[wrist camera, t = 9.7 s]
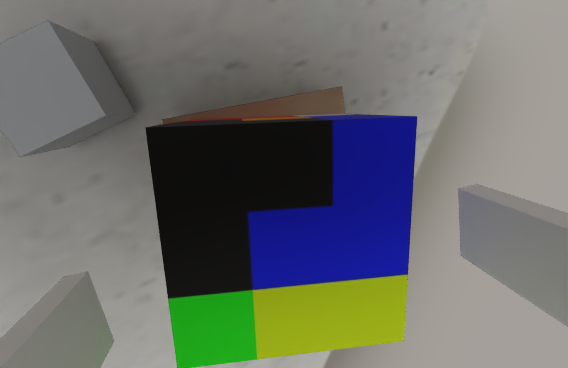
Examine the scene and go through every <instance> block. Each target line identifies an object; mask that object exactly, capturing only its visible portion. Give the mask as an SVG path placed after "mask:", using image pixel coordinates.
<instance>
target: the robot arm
mask: <svg viewBox="0 0 568 368" xmlns="http://www.w3.org/2000/svg"><path fill="white" fill-rule="evenodd" d="M458 194H459V195H458V197H459V222H460V249H461V256H462V257H463V258H465V259H466V260H468V261H469V262H471V263H472V264H474V265H476V266H477V267H479V268H480V269H481V270H483V271H484V272H486V273H487V274H489V275H491V276H492V277H493V278H495V279H497V280H498V281H499V282H501V283H503V284H504V285H506V286H507V287H508V288H510V289H512V290H513V291H515V292H516V293H518V294H519V295H521V296H522V297H524V298H525V299H527V300H528V301H530V302H532V303H533V304H534V305H536V306H537V307H539V308H540V309H542V310H543V311H545V312H546V313H548V314H549V315H551V316H552V317H554V318H555V319H557V320H558V321H560V322H561V323H563V324H564V325H566V326H567V327H568V213H566V212H563V211H559V210H556V209H553V208H550V207H547V206H544V205H541V204H538V203H534V202H531V201H528V200H525V199H522V198H519V197H515V196H513V195H510V194H506V193H503V192H500V191H497V190H493V189H491V188H488V187H484V186H481V185H478V184H476V185H472V186H467V187H463V188H459V189H458ZM113 342H114V339H113V336H112V334H111V331H110V328H109V326H108V323H107V320H106V318H105V315H104V312H103V310H102V307H101V305H100V302H99V299H98V297H97V294H96V291H95V289H94V286H93V283H92V281H91V278H90V275H89V273H88V272H83V273H79V274H74V275H70V276H65V277H63V278H62V279H61V280H60V281H59V282H58V283H57V284H56V285H55V286H54V287H53V288H52V289H51V290H50V291H49V292H48V293H47V294H46V295H45V296H44V297H43V298H42V299H41V300H40V301H39V302H38V303H36V304H35V305H34V306H33V307H32V308H31V309H30V310H29V311H28V312H27V313H26V314H25V315H24V316H23V317H22V318H21V319H20V320H19V321H18V322H17V323H16V324H15V325H14V326H13V327H12V328H11V329H10V330H9V331H8V332H7V333H6V334H5V335H4V336H3V337H2V338H1V339H0V368H100V367H101V365H102V363H103V361H104V360H105V358H106V356H107V354H108V352H109V350H110V348H111V346H112V344H113Z"/></svg>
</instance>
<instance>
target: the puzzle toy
mask: <svg viewBox="0 0 568 368" xmlns="http://www.w3.org/2000/svg"><path fill="white" fill-rule="evenodd" d="M416 127H417V117H416V116H387V115H359V114H323V115H297V116H271V117H245V118H219V119H193V120H186V121H180V122H174V123H169V124H163V125H157V126H152V127H146V135H147V142H148V150H149V158H150V165H151V173H152V180H153V188H154V195H155V203H156V210H157V218H158V226H159V233H160V241H161V248H162V256H163V263H164V271H165V278H166V286H167V294H168V301H169V309H170V316H171V324H172V331H173V339H174V346H175V354H176V362H177V368H192V367H200V366H208V365H216V364H224V363H232V362H240V361H248V360H256V359H264V358H272V357H280V356H288V355H296V354H304V353H312V352H320V351H328V350H336V349H344V348H352V347H359V346H367V345H376V344H384V343H392V342H400V341H404V330H405V329H404V328H405V313H406V296H407V280H408V263H409V246H410V245H409V244H410V228H411V211H412V195H413V194H412V193H413V178H414V161H415V144H416Z"/></svg>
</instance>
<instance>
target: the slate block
mask: <svg viewBox="0 0 568 368" xmlns="http://www.w3.org/2000/svg"><path fill="white" fill-rule="evenodd" d="M135 114H136V113H135V111H134V110H133V108H132V106H131V104H130V103H129V101H128V99H127V98H126V96H125V94H124V93H123V91H122V89H121V87H120V86H119V84H118V82H117V81H116V79H115V77H114V75H113V74H112V72H111V70H110V69H109V67H108V65H107V64H106V62H105V60H104V58H103V57H102V55H101V53H100V52H99V50H98V48H97V46H96V45H95V43H94V41H91V40H89V39H87V38H85V37H83V36H81V35H78V34H76V33H74V32H72V31H70V30H68V29H65V28H63V27H61V26H59V25H57V24H55V23H52V22H50V21H45V22H43V23H41V24H39V25H37V26H35V27H33V28H31V29H29V30H27V31H25V32H22V33H20V34H18V35H16V36H14V37H12V38H10V39H8V40H6V41H4V42H2V43H0V130H1V132H2V133H3V134H4V136H5V137H6V139H7V140H8V141H9V143H10V144H11V146H12V147H13V148H14V150H15V151H16V153H17V154H18V155H19V157H23V156H27V155H32V154H37V153H42V152H46V151H51V150H56V149H61V148H65V147H70V146H72V145H74V144H76V143H78V142H80V141H82V140H84V139H86V138H88V137H90V136H92V135H94V134H96V133H98V132H100V131H103V130H105V129H107V128H109V127H111V126H113V125H115V124H117V123H119V122H121V121H123V120H125V119H127V118H129V117H131V116H133V115H135Z"/></svg>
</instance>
